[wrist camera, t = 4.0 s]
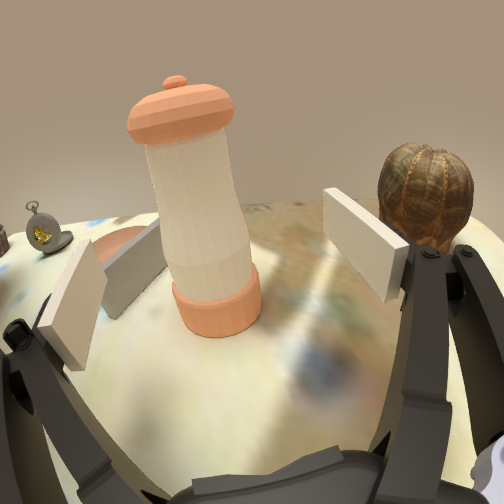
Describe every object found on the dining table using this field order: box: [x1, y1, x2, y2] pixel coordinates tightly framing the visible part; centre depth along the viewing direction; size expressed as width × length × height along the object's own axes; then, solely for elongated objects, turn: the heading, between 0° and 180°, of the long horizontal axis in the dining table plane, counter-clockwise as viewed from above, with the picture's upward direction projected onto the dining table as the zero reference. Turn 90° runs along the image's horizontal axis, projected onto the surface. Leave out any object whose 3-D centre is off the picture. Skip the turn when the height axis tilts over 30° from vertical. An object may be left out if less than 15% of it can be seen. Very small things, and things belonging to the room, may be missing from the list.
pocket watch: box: [26, 201, 73, 253], centre depth 38 cm, size 8×8×10 cm
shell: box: [378, 143, 474, 255], centre depth 26 cm, size 11×11×12 cm
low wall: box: [101, 218, 167, 319], centre depth 31 cm, size 1×18×5 cm, turn 158°
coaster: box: [92, 226, 147, 264], centre depth 36 cm, size 13×13×1 cm
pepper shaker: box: [127, 75, 262, 338], centre depth 20 cm, size 7×7×19 cm
